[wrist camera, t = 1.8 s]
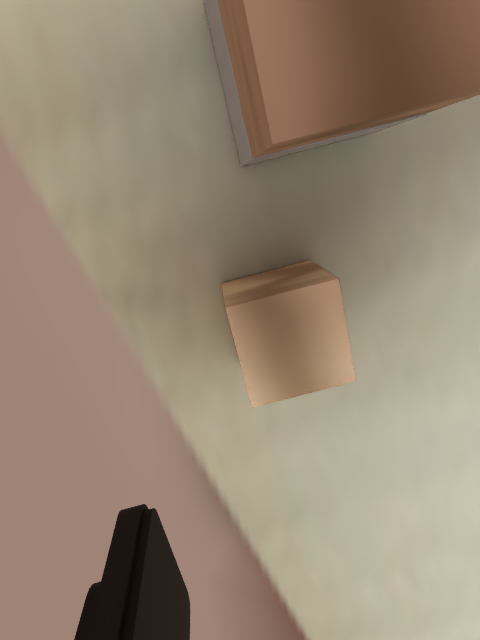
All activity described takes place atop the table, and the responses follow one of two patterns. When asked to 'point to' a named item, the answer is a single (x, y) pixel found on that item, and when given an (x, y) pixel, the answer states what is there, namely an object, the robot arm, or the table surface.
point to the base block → (234, 102)
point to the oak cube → (289, 332)
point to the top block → (346, 64)
